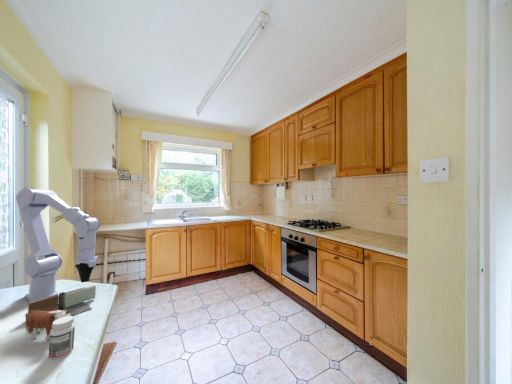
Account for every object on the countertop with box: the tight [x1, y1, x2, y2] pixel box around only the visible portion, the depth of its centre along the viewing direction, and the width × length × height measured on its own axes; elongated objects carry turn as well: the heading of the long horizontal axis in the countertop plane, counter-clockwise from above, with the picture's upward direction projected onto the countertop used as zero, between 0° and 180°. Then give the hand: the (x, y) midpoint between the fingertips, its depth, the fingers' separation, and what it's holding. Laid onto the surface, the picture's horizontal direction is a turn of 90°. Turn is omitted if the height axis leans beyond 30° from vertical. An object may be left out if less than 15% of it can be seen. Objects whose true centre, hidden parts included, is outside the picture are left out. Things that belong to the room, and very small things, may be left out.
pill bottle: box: [48, 316, 76, 360], centre depth 53 cm, size 5×5×8 cm
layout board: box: [25, 302, 92, 317], centre depth 71 cm, size 14×14×1 cm
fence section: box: [27, 291, 65, 314], centre depth 69 cm, size 1×9×6 cm, turn 147°
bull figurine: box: [25, 310, 71, 342], centre depth 58 cm, size 4×13×8 cm, turn 78°
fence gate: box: [64, 284, 97, 308], centre depth 77 cm, size 9×1×5 cm, turn 147°
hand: (84, 281), depth 82 cm, fingers closed
